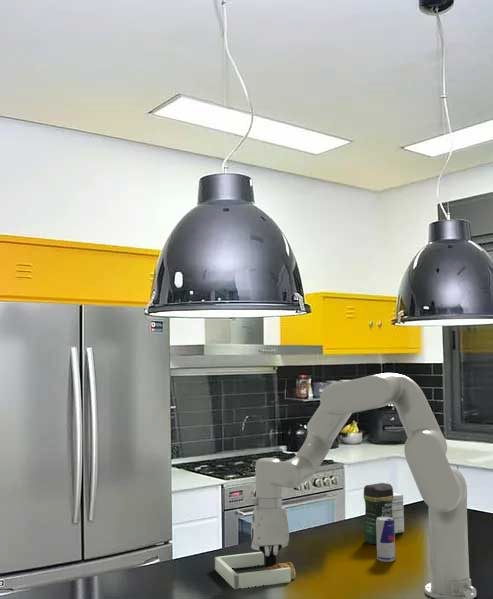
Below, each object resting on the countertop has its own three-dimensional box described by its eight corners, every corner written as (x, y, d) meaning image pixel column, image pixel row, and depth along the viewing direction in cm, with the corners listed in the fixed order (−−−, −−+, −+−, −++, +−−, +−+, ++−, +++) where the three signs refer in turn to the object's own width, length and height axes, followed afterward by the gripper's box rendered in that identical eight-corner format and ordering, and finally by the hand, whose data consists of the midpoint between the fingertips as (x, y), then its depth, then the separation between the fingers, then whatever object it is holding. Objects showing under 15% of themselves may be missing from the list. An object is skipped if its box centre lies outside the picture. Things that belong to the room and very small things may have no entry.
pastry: (265, 583, 190) (264, 569, 190) (257, 576, 196) (257, 562, 196) (297, 579, 192) (297, 565, 193) (288, 572, 199) (288, 558, 199)
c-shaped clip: (290, 581, 191) (290, 568, 191) (234, 589, 185) (234, 575, 186) (267, 563, 208) (266, 551, 208) (214, 569, 203) (214, 557, 203)
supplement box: (374, 529, 244) (373, 492, 245) (392, 527, 247) (390, 490, 248) (387, 534, 238) (385, 496, 238) (405, 532, 241) (403, 494, 242)
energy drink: (395, 562, 206) (394, 520, 207) (377, 561, 207) (375, 520, 208) (395, 557, 211) (394, 516, 212) (377, 556, 212) (376, 516, 213)
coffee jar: (377, 547, 223) (375, 487, 224) (360, 541, 229) (358, 483, 231) (399, 542, 228) (397, 483, 230) (382, 536, 235) (380, 480, 236)
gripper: (248, 507, 194) (249, 576, 193) (298, 503, 199) (299, 569, 198) (240, 502, 201) (240, 568, 200) (288, 498, 206) (289, 562, 205)
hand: (270, 568), depth 199 cm, fingers closed
